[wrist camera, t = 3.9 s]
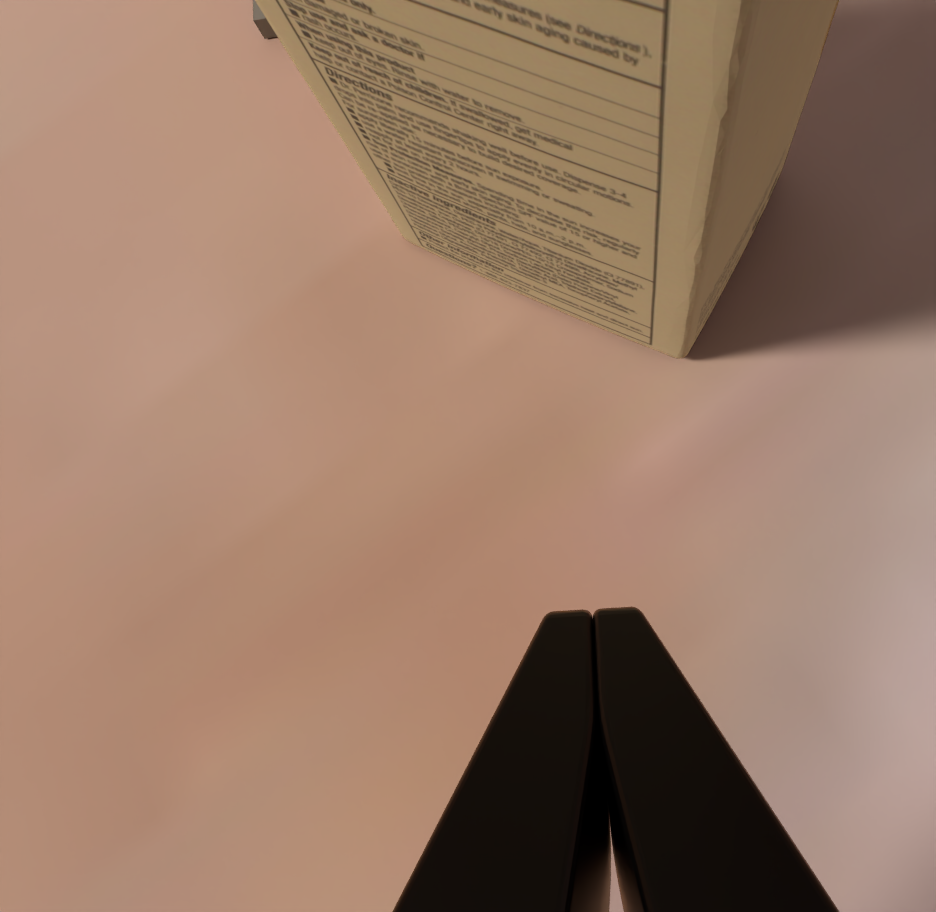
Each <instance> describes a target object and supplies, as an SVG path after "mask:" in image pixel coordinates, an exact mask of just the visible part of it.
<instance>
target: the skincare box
mask: <svg viewBox="0 0 936 912" xmlns="http://www.w3.org/2000/svg"><path fill="white" fill-rule="evenodd" d="M255 1H256V3H257V5H258V6H259V8H260V9H261V11H262V12H263V14H264V16H265V17H266V19H267V20H268V22H269V24H270V25H271V27H272V29H273V30H274V32H275V33H276V35H277V37H278V38H279V40H280V41H281V43H282V45H283V46H284V48H285V49H286V51H287V53H288V54H289V56H290V58H291V59H292V61H293V62H294V64H295V65H296V67H297V69H298V70H299V72H300V73H301V75H302V76H303V78H304V79H305V81H306V82H307V84H308V86H309V87H310V89H311V90H312V92H313V93H314V95H315V97H316V98H317V100H318V101H319V103H320V105H321V106H322V108H323V110H324V111H325V113H326V114H327V116H328V118H329V119H330V121H331V122H332V124H333V125H334V127H335V129H336V130H337V132H338V133H339V135H340V136H341V138H342V140H343V141H344V143H345V144H346V146H347V148H348V149H349V151H350V153H351V154H352V156H353V157H354V159H355V161H356V162H357V164H358V165H359V167H360V169H361V170H362V172H363V174H364V175H365V177H366V178H367V180H368V181H369V183H370V185H371V186H372V188H373V189H374V191H375V193H376V194H377V196H378V197H379V199H380V200H381V202H382V204H383V205H384V207H385V208H386V210H387V211H388V213H389V215H390V216H391V218H392V220H393V221H394V223H395V225H396V226H397V228H398V229H399V231H400V232H401V234H402V236H403V237H404V238H405V239H406V240H407V241H409V242H411V243H412V244H415V245H417V246H419V247H421V248H423V249H425V250H427V251H429V252H431V253H433V254H435V255H437V256H439V257H441V258H443V259H445V260H447V261H450V262H452V263H454V264H456V265H458V266H460V267H463V268H465V269H467V270H469V271H471V272H473V273H476V274H478V275H480V276H482V277H484V278H486V279H488V280H490V281H493V282H495V283H497V284H499V285H502V286H504V287H506V288H508V289H510V290H513V291H515V292H517V293H520V294H522V295H524V296H527V297H529V298H531V299H534V300H536V301H538V302H540V303H543V304H545V305H547V306H550V307H552V308H554V309H556V310H559V311H561V312H563V313H566V314H568V315H570V316H573V317H575V318H578V319H580V320H582V321H585V322H587V323H590V324H592V325H594V326H597V327H599V328H602V329H604V330H606V331H609V332H611V333H614V334H616V335H619V336H621V337H624V338H626V339H629V340H631V341H634V342H636V343H639V344H641V345H644V346H646V347H649V348H652V349H654V350H657V351H659V352H662V353H664V354H666V355H669V356H671V357H674V358H678V359H680V358H684V357H685V356H686V355H688V353H689V351H690V349H691V348H692V346H693V344H694V342H695V341H696V339H697V337H698V335H699V334H700V332H701V330H702V328H703V326H704V325H705V323H706V321H707V319H708V317H709V315H710V314H711V312H712V310H713V308H714V306H715V304H716V303H717V301H718V299H719V297H720V295H721V293H722V292H723V290H724V288H725V286H726V284H727V282H728V281H729V279H730V277H731V275H732V273H733V271H734V269H735V267H736V265H737V263H738V261H739V259H740V258H741V256H742V254H743V252H744V250H745V248H746V246H747V244H748V242H749V240H750V238H751V236H752V234H753V232H754V230H755V228H756V226H757V224H758V221H759V219H760V217H761V215H762V213H763V211H764V209H765V207H766V205H767V203H768V200H769V198H770V196H771V193H772V191H773V189H774V187H775V185H776V182H777V180H778V178H779V176H780V173H781V171H782V169H783V166H784V163H785V160H786V158H787V154H788V151H789V148H790V145H791V142H792V139H793V136H794V133H795V130H796V127H797V124H798V121H799V118H800V115H801V112H802V110H803V107H804V104H805V101H806V98H807V95H808V92H809V89H810V86H811V83H812V80H813V77H814V75H815V72H816V69H817V66H818V63H819V59H820V56H821V53H822V50H823V47H824V44H825V41H826V38H827V35H828V31H829V28H830V25H831V22H832V19H833V16H834V13H835V11H836V8H837V5H838V2H839V0H255Z"/></svg>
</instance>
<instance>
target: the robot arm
mask: <svg viewBox="0 0 936 912" xmlns="http://www.w3.org/2000/svg"><path fill="white" fill-rule="evenodd" d="M609 818H610V819H609ZM610 827H611V836H612V845H613V854H614V860H615V866H616V872H617V878H618V884H619V889H620V894H621V899H622V904H623V909H624V912H839V910H838V909H837V907H836V906H835V904H834V903H833V901H832V900H831V898H830V897H829V895H828V894H827V892H826V891H825V889H824V888H823V886H822V885H821V883H820V881H819V880H818V878H817V877H816V875H815V874H814V872H813V871H812V869H811V868H810V866H809V865H808V863H807V862H806V860H805V859H804V857H803V856H802V854H801V853H800V851H799V850H798V848H797V847H796V845H795V844H794V842H793V840H792V839H791V837H790V836H789V834H788V833H787V831H786V830H785V828H784V827H783V825H782V824H781V822H780V821H779V819H778V818H777V816H776V815H775V813H774V812H773V810H772V809H771V807H770V806H769V804H768V803H767V801H766V800H765V798H764V796H763V795H762V793H761V792H760V790H759V789H758V787H757V786H756V784H755V783H754V781H753V780H752V778H751V777H750V775H749V774H748V772H747V771H746V769H745V768H744V766H743V765H742V763H741V762H740V760H739V759H738V757H737V755H736V754H735V752H734V751H733V749H732V748H731V746H730V745H729V743H728V742H727V740H726V739H725V737H724V736H723V734H722V733H721V731H720V730H719V728H718V727H717V725H716V724H715V722H714V721H713V719H712V718H711V716H710V714H709V713H708V711H707V710H706V708H705V707H704V705H703V704H702V702H701V701H700V699H699V698H698V696H697V695H696V693H695V692H694V690H693V689H692V687H691V686H690V684H689V683H688V681H687V680H686V678H685V677H684V675H683V674H682V672H681V670H680V669H679V667H678V666H677V664H676V663H675V661H674V660H673V658H672V657H671V655H670V654H669V652H668V651H667V649H666V648H665V646H664V645H663V643H662V642H661V640H660V639H659V637H658V636H657V634H656V633H655V631H654V629H653V628H652V626H651V625H650V623H649V622H648V620H647V619H646V617H645V616H644V614H643V613H642V612H641V611H640V610H639V609H637V608H635V607H621V608H604V609H598V610H596V611H595V613H594V614H593V618H592V615H591V613H590V612H589V611H587V610H570V611H553V612H550V613H548V614H547V615H546V616H545V617H544V618H543V620H542V622H541V623H540V625H539V627H538V629H537V631H536V633H535V635H534V637H533V639H532V641H531V643H530V645H529V647H528V649H527V651H526V653H525V655H524V657H523V659H522V660H521V662H520V664H519V666H518V668H517V670H516V672H515V674H514V676H513V678H512V680H511V682H510V684H509V686H508V688H507V690H506V692H505V694H504V696H503V697H502V699H501V701H500V703H499V705H498V707H497V709H496V711H495V713H494V715H493V717H492V719H491V721H490V723H489V725H488V727H487V729H486V731H485V733H484V734H483V736H482V738H481V740H480V742H479V744H478V746H477V748H476V750H475V752H474V754H473V756H472V758H471V760H470V762H469V764H468V766H467V768H466V770H465V771H464V773H463V775H462V777H461V779H460V781H459V783H458V785H457V787H456V789H455V791H454V793H453V795H452V797H451V799H450V801H449V803H448V805H447V807H446V808H445V810H444V812H443V814H442V816H441V818H440V820H439V822H438V824H437V826H436V828H435V830H434V832H433V834H432V836H431V838H430V840H429V842H428V844H427V845H426V847H425V849H424V851H423V853H422V855H421V857H420V859H419V861H418V863H417V865H416V867H415V869H414V871H413V873H412V875H411V877H410V879H409V881H408V882H407V884H406V886H405V888H404V890H403V892H402V894H401V896H400V898H399V900H398V902H397V904H396V906H395V908H394V910H393V912H609V904H610V883H611V838H610Z"/></svg>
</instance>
